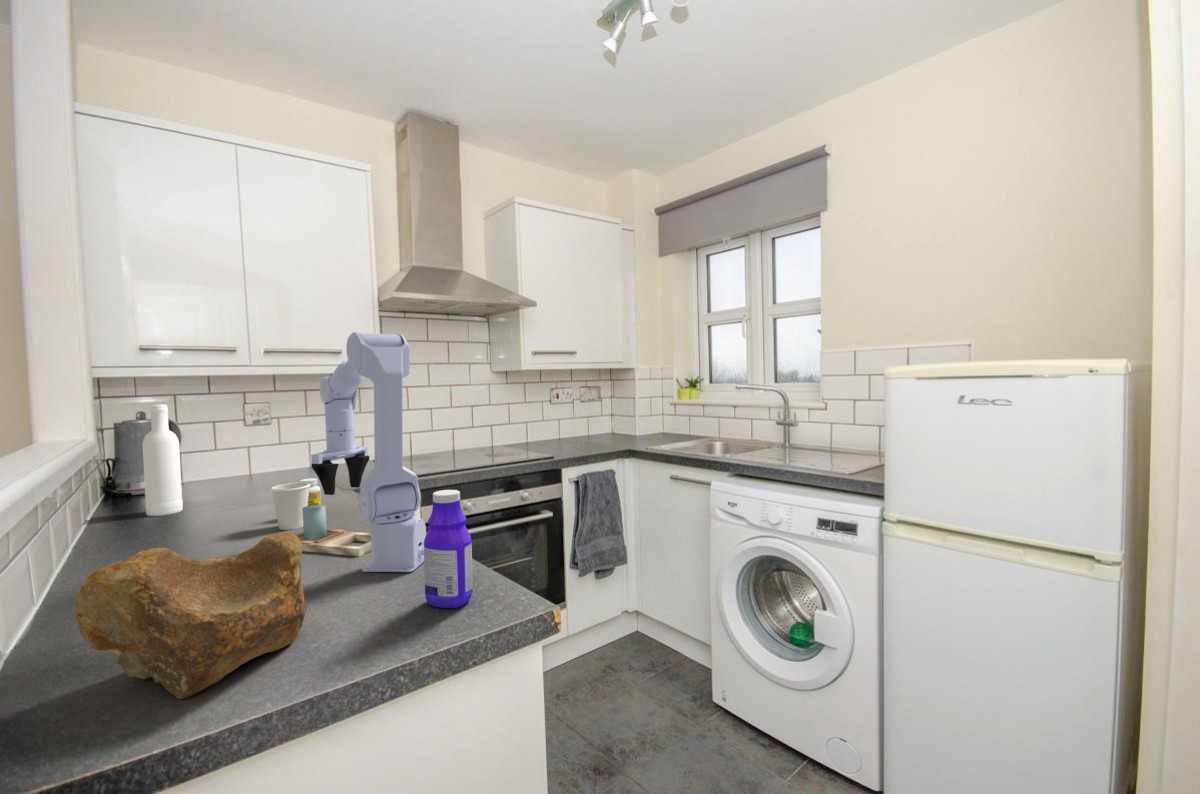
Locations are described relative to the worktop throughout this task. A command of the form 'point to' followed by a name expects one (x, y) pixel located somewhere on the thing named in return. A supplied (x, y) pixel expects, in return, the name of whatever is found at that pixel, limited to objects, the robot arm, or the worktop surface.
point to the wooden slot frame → (338, 543)
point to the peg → (314, 522)
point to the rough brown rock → (194, 611)
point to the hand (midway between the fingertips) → (342, 490)
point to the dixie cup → (290, 504)
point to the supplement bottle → (313, 491)
